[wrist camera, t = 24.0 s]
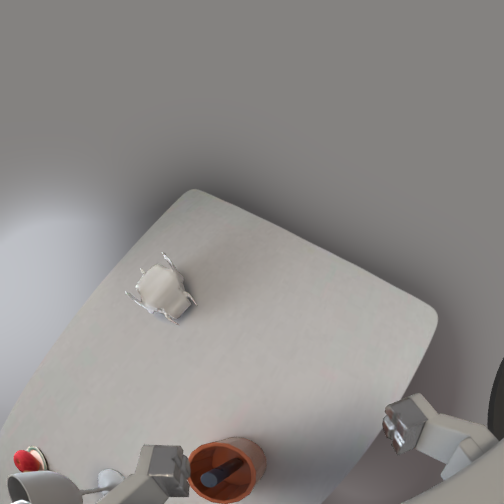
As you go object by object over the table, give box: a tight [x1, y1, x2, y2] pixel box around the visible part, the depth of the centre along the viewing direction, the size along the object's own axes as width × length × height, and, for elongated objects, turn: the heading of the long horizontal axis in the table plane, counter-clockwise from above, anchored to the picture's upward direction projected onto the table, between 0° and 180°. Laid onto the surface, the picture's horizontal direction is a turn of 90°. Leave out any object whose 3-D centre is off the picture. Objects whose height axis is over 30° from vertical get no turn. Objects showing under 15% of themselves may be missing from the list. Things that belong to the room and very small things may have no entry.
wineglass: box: [6, 469, 125, 504], centre depth 21 cm, size 8×8×21 cm
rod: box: [201, 458, 243, 487], centre depth 26 cm, size 2×2×12 cm
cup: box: [188, 437, 267, 504], centre depth 27 cm, size 8×8×9 cm
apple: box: [14, 446, 47, 473], centre depth 28 cm, size 8×8×6 cm
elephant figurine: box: [125, 252, 198, 325], centre depth 44 cm, size 10×12×9 cm
